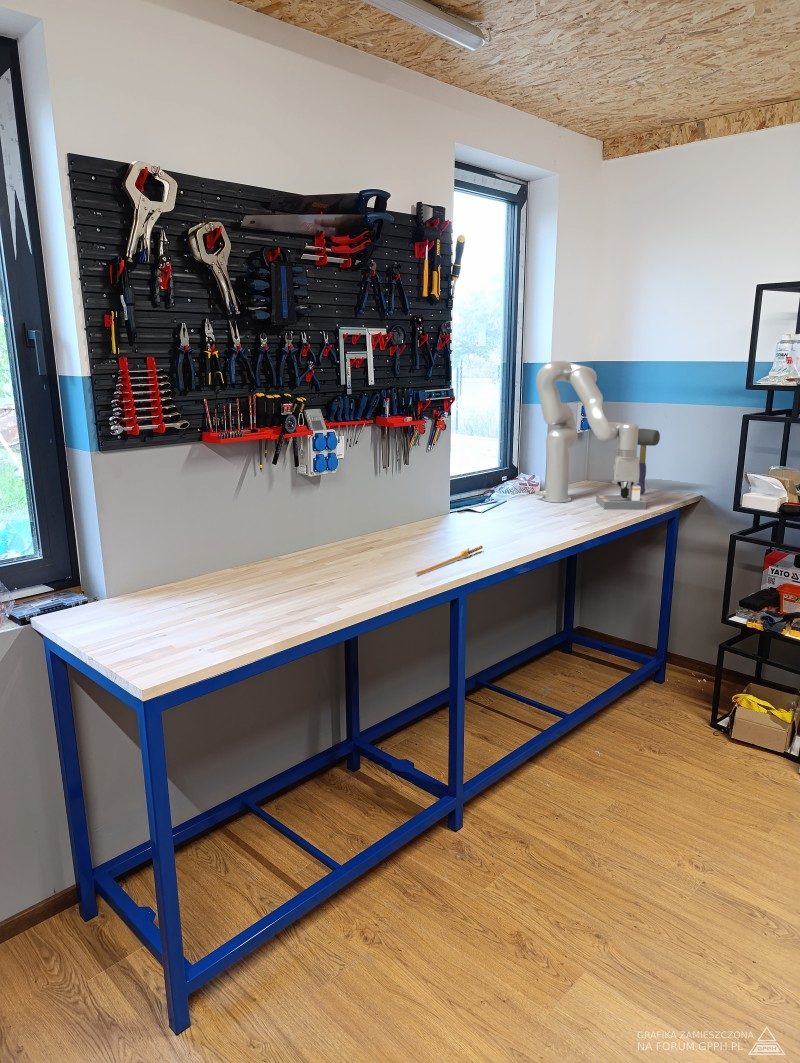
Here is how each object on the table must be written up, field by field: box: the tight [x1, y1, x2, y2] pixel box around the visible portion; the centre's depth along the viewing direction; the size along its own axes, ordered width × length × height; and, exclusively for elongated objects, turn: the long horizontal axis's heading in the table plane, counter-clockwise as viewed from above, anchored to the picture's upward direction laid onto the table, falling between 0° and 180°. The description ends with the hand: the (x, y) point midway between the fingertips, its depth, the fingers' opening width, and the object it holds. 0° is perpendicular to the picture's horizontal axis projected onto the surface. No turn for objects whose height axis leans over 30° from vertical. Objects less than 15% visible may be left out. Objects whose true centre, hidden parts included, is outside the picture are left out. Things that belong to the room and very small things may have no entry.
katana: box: [415, 545, 484, 577], centre depth 221 cm, size 1×35×3 cm, turn 141°
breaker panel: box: [595, 482, 647, 510], centre depth 304 cm, size 17×16×9 cm
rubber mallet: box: [636, 428, 661, 496], centre depth 326 cm, size 12×8×30 cm, turn 46°
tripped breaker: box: [630, 484, 641, 501], centre depth 300 cm, size 3×4×6 cm
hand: (624, 497), depth 300 cm, fingers closed
